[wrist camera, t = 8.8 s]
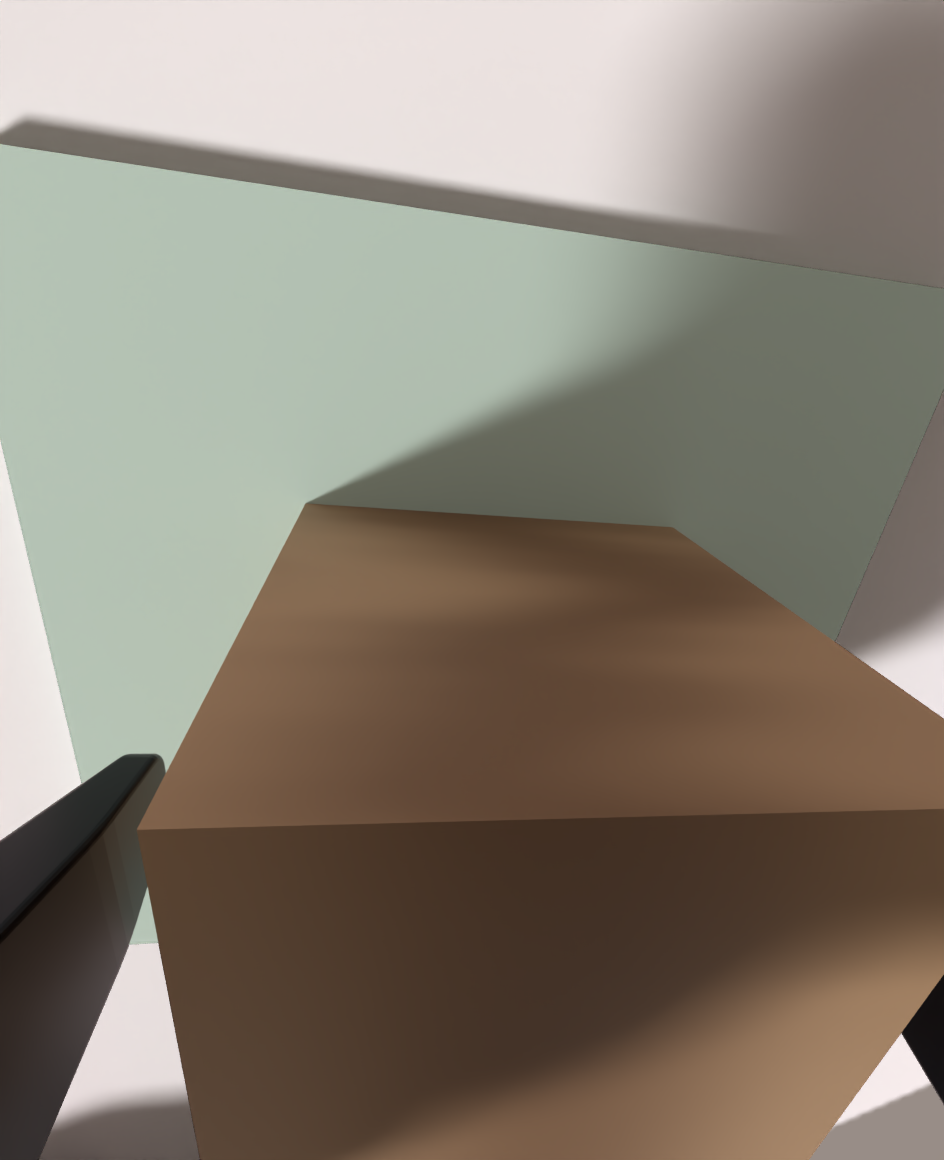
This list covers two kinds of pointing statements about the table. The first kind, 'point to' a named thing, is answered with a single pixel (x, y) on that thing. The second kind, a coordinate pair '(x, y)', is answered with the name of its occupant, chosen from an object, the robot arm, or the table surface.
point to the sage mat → (405, 406)
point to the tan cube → (538, 854)
